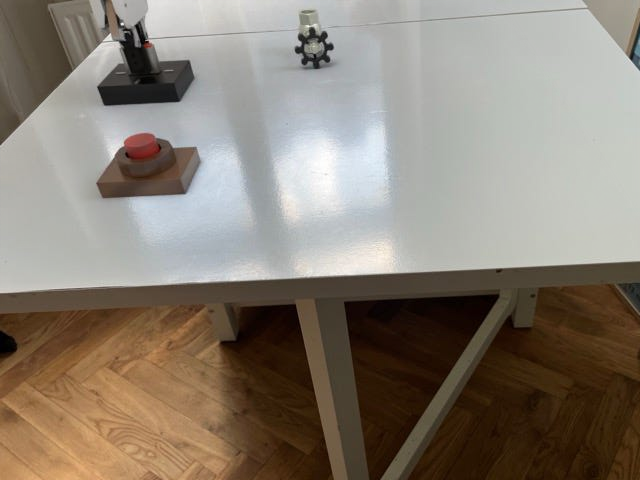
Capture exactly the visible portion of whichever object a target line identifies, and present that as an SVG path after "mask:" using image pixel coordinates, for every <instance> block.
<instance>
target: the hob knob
mask: <svg viewBox="0 0 640 480" xmlns="http://www.w3.org/2000/svg"><path fill="white" fill-rule="evenodd" d="M141 46H144V48H145V51H146V54H147V57H148V60H149V63H150V66H151V70H152V71H151V72H150V73H144V74H154V73H159V72H160V71H161V66H160V63H159V61H160V60H159V56H158V53H157V51H156V47H155V44H154V43H152V42H149V43H145V44H144V45H141ZM118 50H119V53H120V57H121V59H122V63H124V65H125V68H126V71H127V73H128V75H134V74H132V73H131V72H130V69H129V66H128V63H127V60H126V57H125V55H124V52H123V49H122V48H121V47H120V48H118Z"/></svg>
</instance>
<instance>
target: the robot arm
mask: <svg viewBox="0 0 640 480" xmlns="http://www.w3.org/2000/svg"><path fill="white" fill-rule="evenodd" d="M88 2H89V4H90V8H91V11H92V15H93V17H94V20H95V23H96V25H97V27H98V29H99V30H101V31H107V30H109V31H110V36H111V37H110V38H111V40H112V41H113V42H118V44H119V47H120V48H122V49H123V52H124V55H125V57H126V60H127V63H128V66H129V69H130V72H131V73H132V74H144V73H150V72H151V71H152V70H151V66H150V63H149V60H148V57H147V54H146V51H145V48H144V46H141V45H144V44H145V43H150V40H149V34H148V30H147V28H146V21H145V20H146V18H147V17H146V16H147V13H149V3H148V0H88Z"/></svg>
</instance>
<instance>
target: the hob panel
mask: <svg viewBox="0 0 640 480" xmlns="http://www.w3.org/2000/svg"><path fill="white" fill-rule="evenodd" d="M159 63H160V66H161V71H160V72H159V73H154V74H134V75H128V73H127V71H126V68H125V65H124V62H122V63H120V62H119V63H117V65H115V67H113V69H112V70H111V71H110V72H109V73H108V74H107V75H106V76H105V77H104V78H103V80H101V82H100V83H98V85H97V86H96V89H97V91H98V94H99V96H100V99H101V102H102V104H103V106H117V105H119V106H120V105H137V104H138V105H139V104H140V105H141V104H156V103H157V104H158V103H176V102H180V101H181V100H182V99H183V97H184V95H185V93H186V92H187V90H188V89H189V87H190V85H191V84H192V82H193V81H194V79H195V74H194V70H193V68H192V64H191V60H190V59H181V60H180V59H179V60H159Z"/></svg>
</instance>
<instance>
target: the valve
mask: <svg viewBox="0 0 640 480" xmlns="http://www.w3.org/2000/svg"><path fill="white" fill-rule="evenodd" d="M298 18H299V25H298V34H297V41H299V42H300V46H299V45H295V46H294V52H295V54H296V55H300V54H302V57H301V58H300V63H301V65H302V66H307V65H308V63H309V62H310V63H312V66H313V68H314V69H315V70H318V69H319V68H320V67H321V65H320V62H321V61H323V62H324V63H326V64H329V63H330V62H331V56H330V55H328V52H329V51H330V52H332V51H334V49H335V46H334V45H335V44H334V43H333V42H331V41H330V42H329V43H327V41H326V39H328V37H329V33H328V31H326V30H323V29H322V25H321V23H320V21H319V20H320V19H319V12H318V10H317V9H315V8H305V9H301V10H299V11H298ZM322 44H323V48H322ZM322 50H323V52H322V53H321V55H319V56H318V55H317V53H319V52H321V51H322ZM309 54H312V56H313V57H311V56H309Z"/></svg>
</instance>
